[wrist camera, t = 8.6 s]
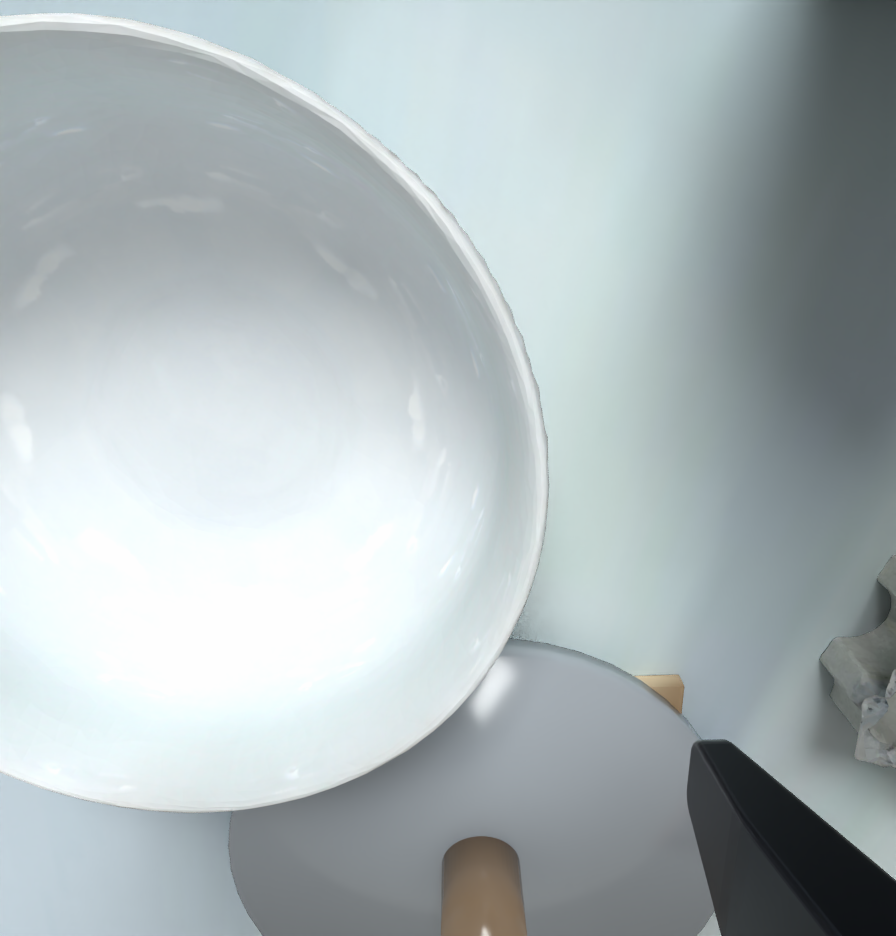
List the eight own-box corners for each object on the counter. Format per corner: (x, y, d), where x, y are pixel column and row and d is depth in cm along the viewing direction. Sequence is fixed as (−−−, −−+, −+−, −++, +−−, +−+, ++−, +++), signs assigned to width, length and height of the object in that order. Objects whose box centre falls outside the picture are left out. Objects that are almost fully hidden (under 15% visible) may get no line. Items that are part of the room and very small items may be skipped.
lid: (753, 629, 22) (832, 743, 18) (699, 994, 29) (746, 1147, 24) (199, 644, 23) (134, 760, 18) (269, 1002, 29) (235, 1154, 25)
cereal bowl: (611, 514, 22) (680, 653, 15) (176, 714, 25) (76, 904, 18) (323, -69, 16) (236, -247, 10) (-192, 277, 19) (-527, 321, 13)
